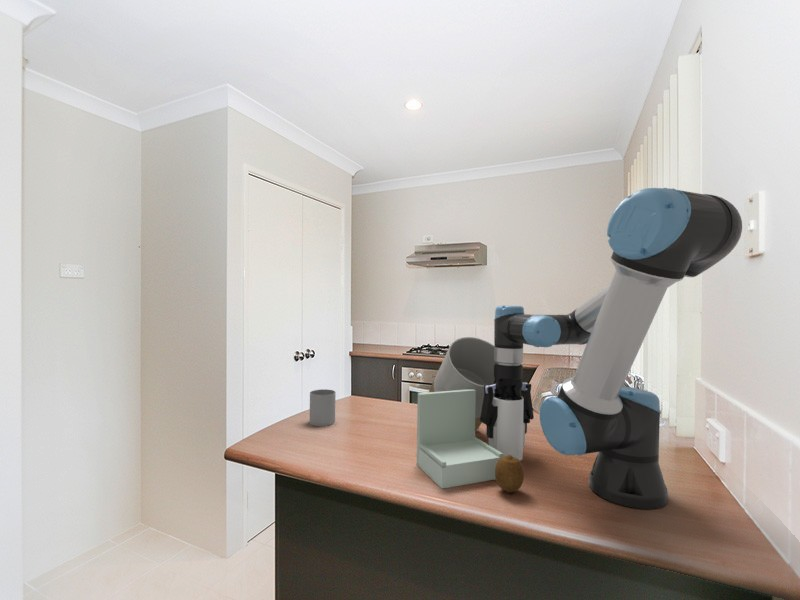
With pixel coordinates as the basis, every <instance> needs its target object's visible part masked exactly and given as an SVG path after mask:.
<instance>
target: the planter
mask: <svg viewBox="0 0 800 600" xmlns="http://www.w3.org/2000/svg"><path fill="white" fill-rule="evenodd" d="M495 363H496V362H495V361H494V344H492V343H490V342H489V341H487V340H484V339H481V338H479V337H471V336H464V337H461V338H460V337H459V338H458V339H455V340H454V341H453V342H452V343H450V345H449V347H448V349H447V351H446V354H445V356H444V358H443V360H442V362H441V365H440V366H439V368H438V370H437V373H436V375H435V378H434V379H433V382H432V384H431V385H430V388H429V390H428V392H441V391H454V390H467V389H474V390H476V403H475V432H477V431H478V429H479V428H480V426H481V425H482V424H483V423H482V422H480V416H481V410H482V405H483V399H484V385H488V386H489V385H493V383H494V381H495V378H494V364H495ZM494 391H495V390H494ZM495 393H496V391H495ZM495 393H493V394H495Z"/></svg>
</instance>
